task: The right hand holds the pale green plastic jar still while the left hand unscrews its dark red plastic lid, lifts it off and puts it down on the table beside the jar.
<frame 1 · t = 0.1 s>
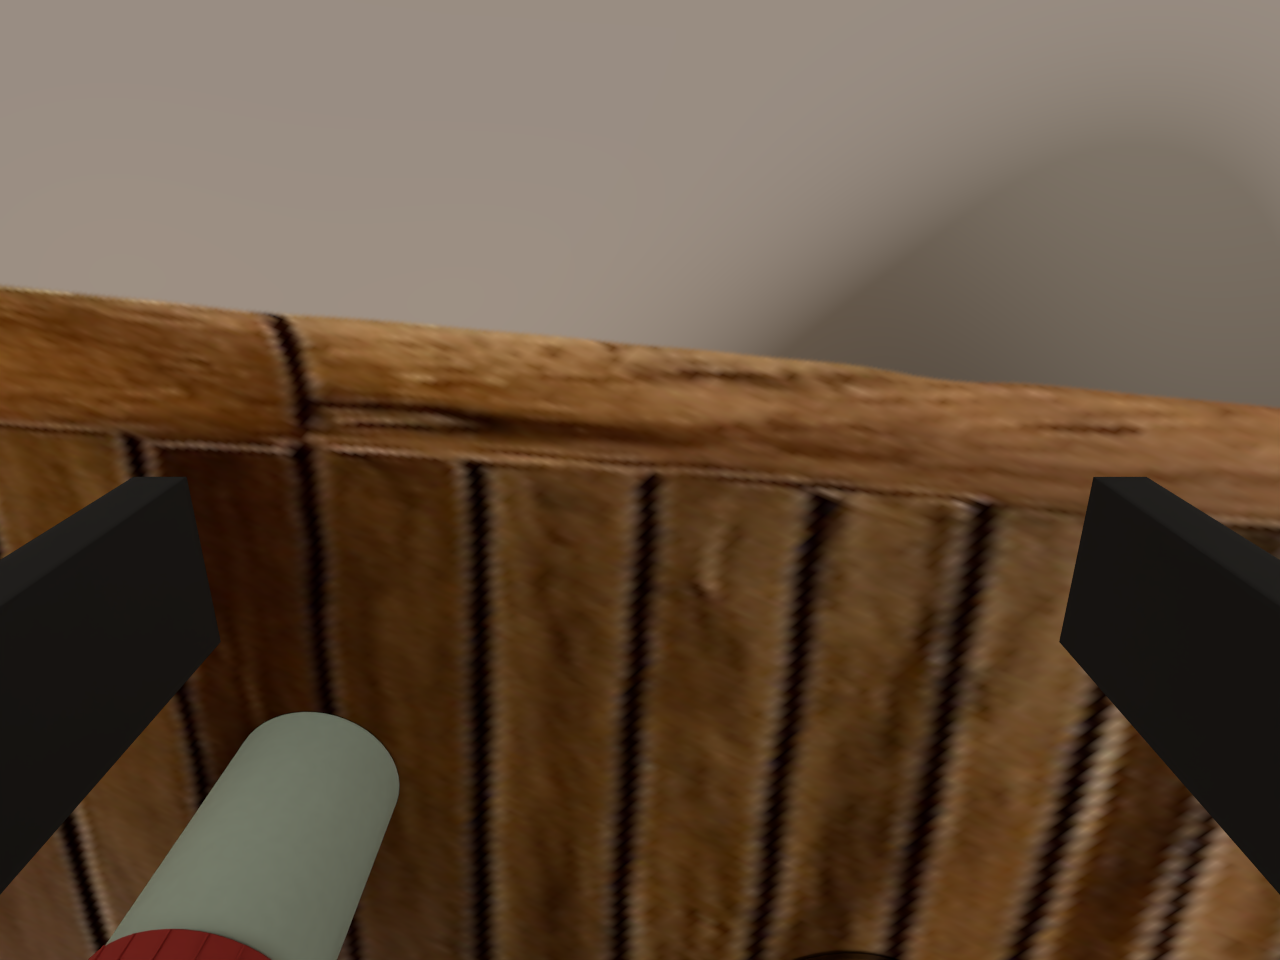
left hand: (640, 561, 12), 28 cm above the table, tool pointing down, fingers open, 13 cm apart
jar: (318, 778, 48), on the table
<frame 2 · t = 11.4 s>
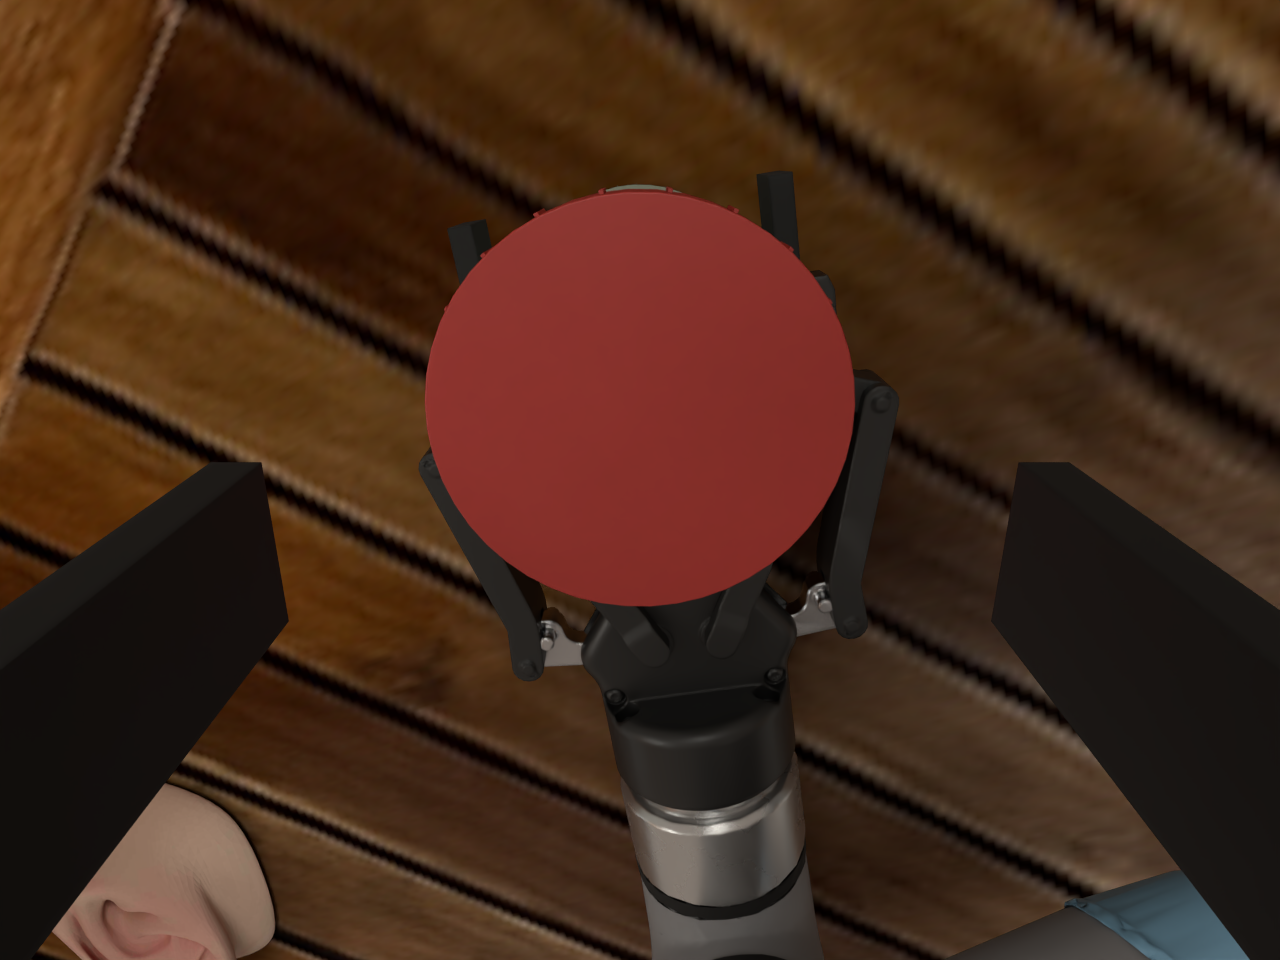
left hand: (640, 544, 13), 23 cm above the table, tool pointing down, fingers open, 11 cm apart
right hand: (618, 198, 27), fingers closed on jar, 9 cm apart
lid: (640, 414, 20), point 16 cm above the table, screwed on, not yet turned
anatomical model: (164, 866, 45), on the table
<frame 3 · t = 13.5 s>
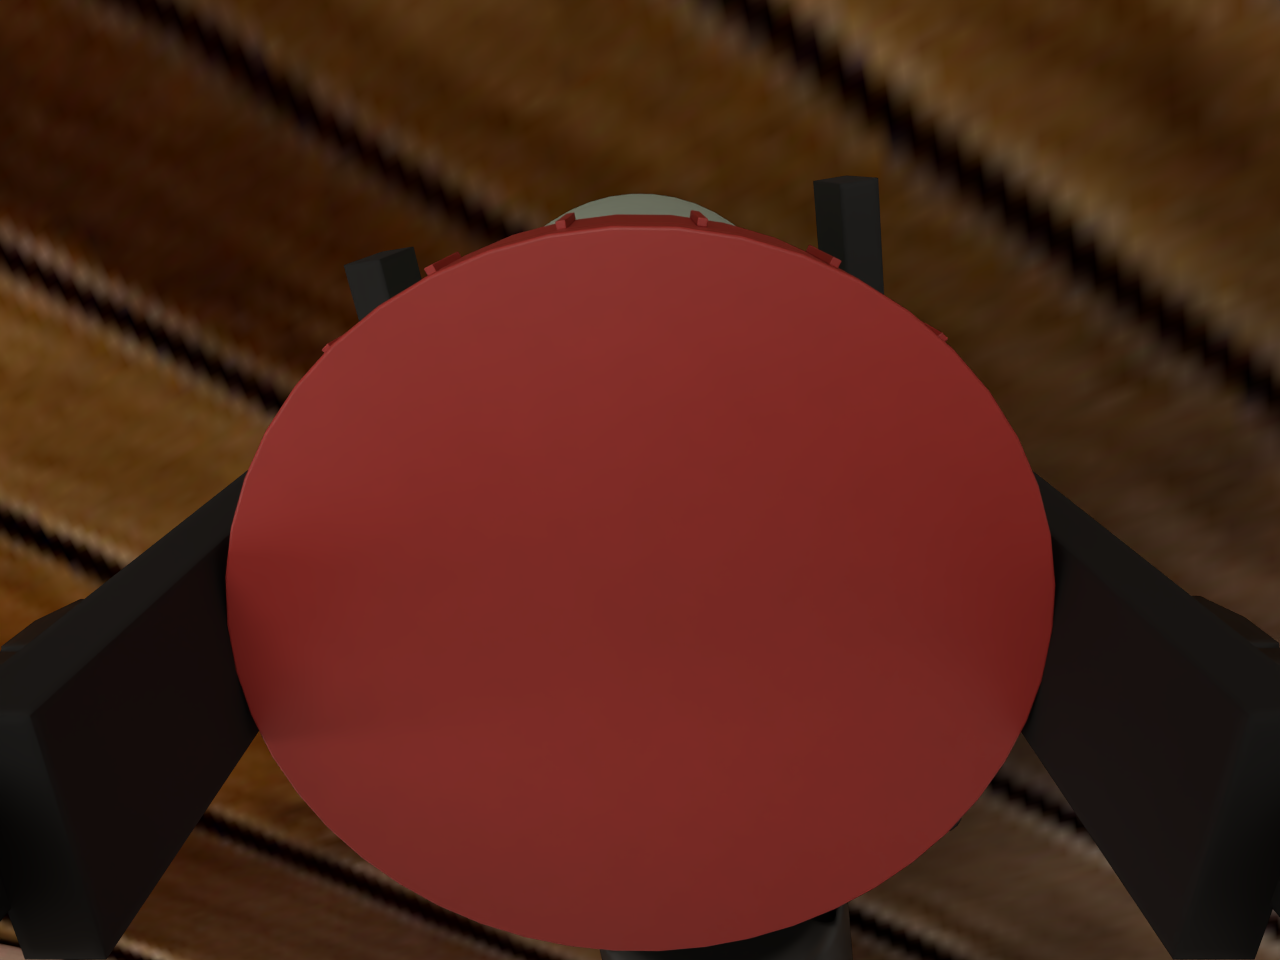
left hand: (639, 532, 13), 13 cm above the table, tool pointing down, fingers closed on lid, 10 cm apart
lid: (640, 637, 10), point 16 cm above the table, screwed on, not yet turned, touching left hand
jar: (640, 356, 25), on the table, touching right hand
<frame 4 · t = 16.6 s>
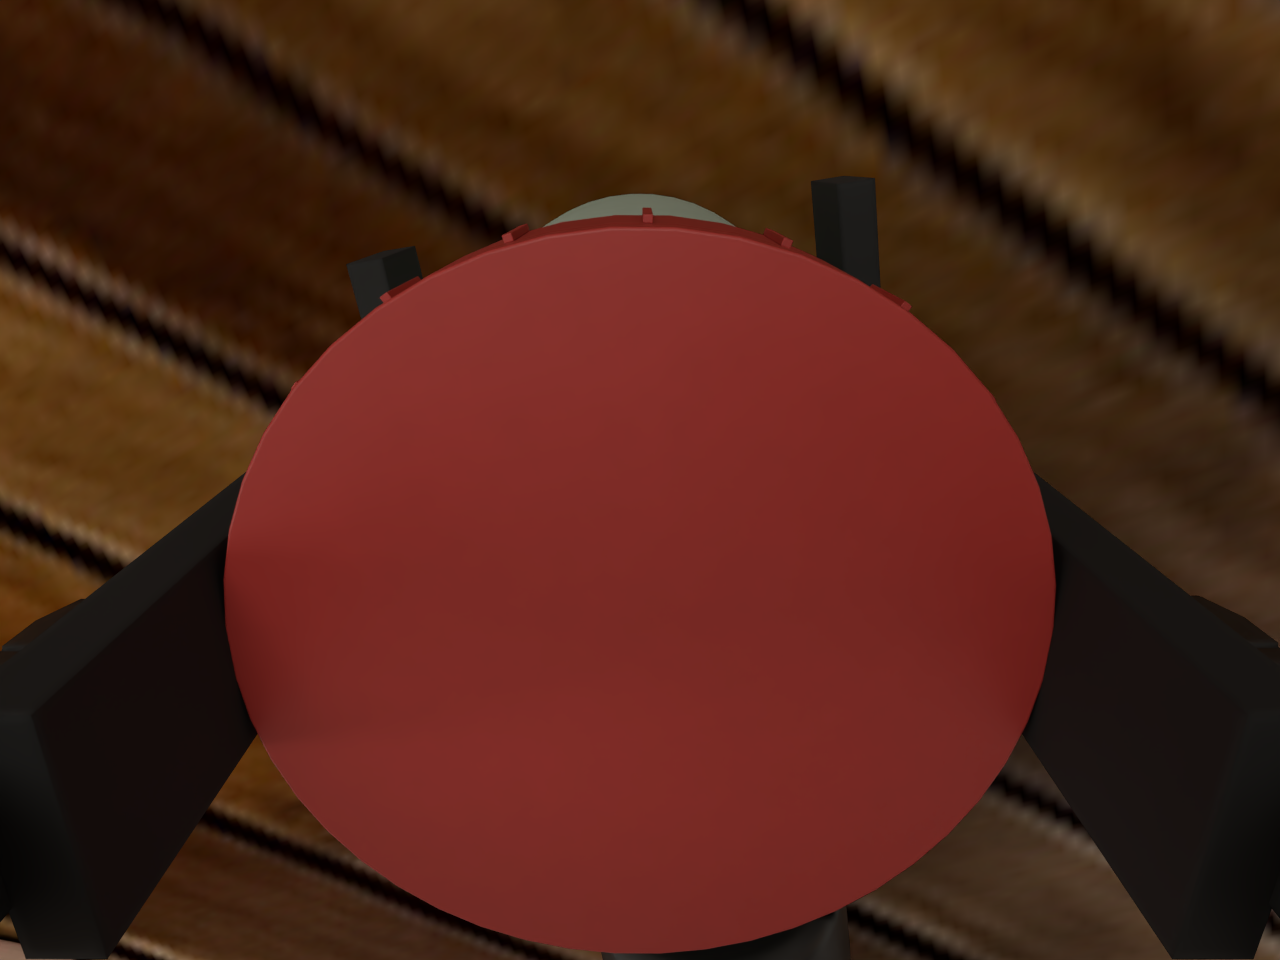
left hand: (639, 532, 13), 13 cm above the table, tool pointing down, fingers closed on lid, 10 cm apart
lid: (639, 639, 10), point 16 cm above the table, turned 75° so far, risen 0.2 cm, still on its thread, touching left hand
jar: (639, 355, 26), on the table, touching right hand
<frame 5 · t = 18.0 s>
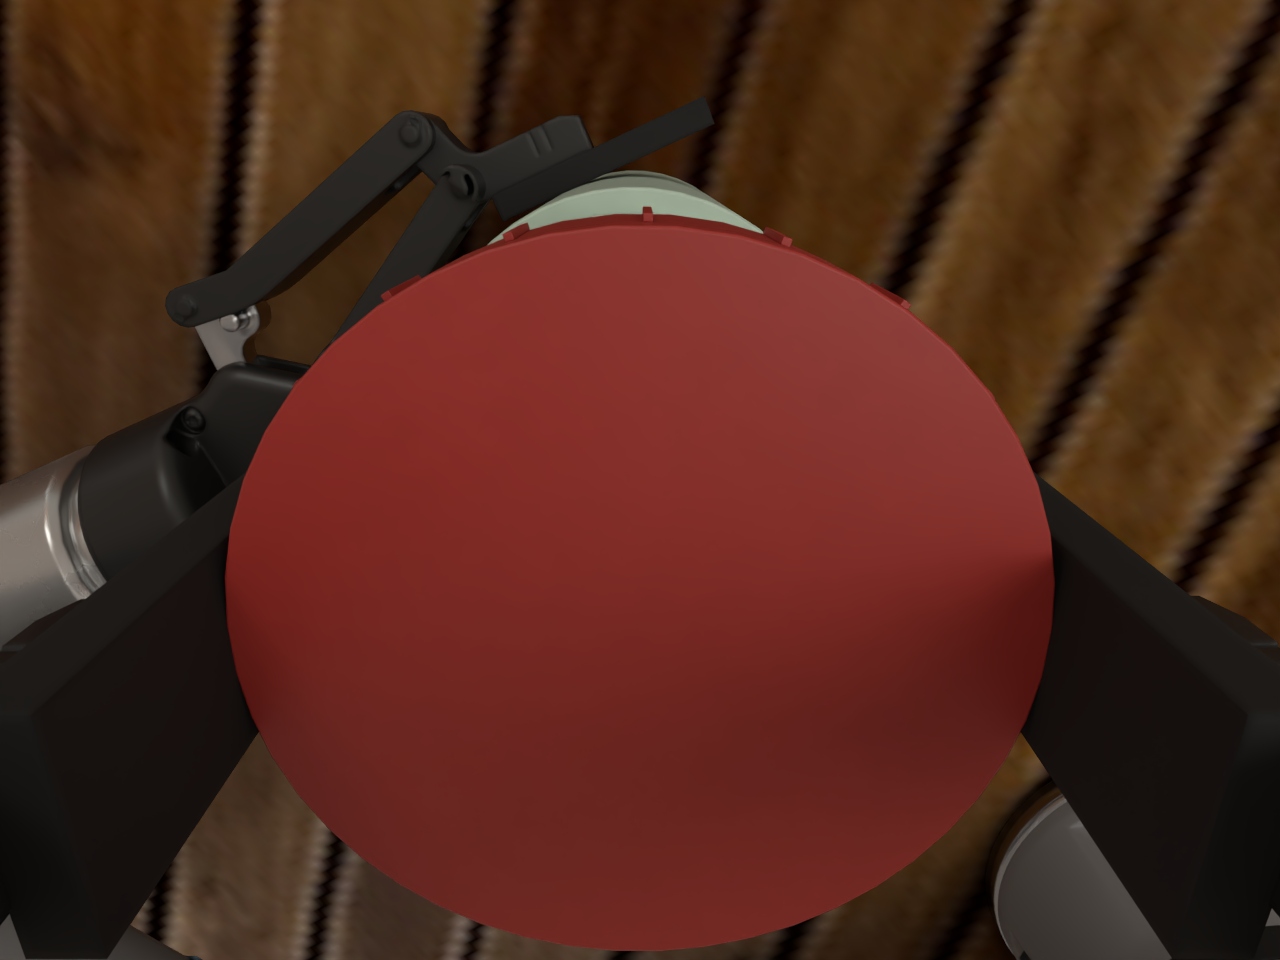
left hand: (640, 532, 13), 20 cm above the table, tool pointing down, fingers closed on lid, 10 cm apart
lid: (639, 636, 10), point 24 cm above the table, off its thread, touching left hand
jar: (634, 299, 32), on the table, touching right hand
when the left hand's fingers open (0 cm above the table, at t = 23.6 s): lid drops 2 cm, point 2 cm above the table.
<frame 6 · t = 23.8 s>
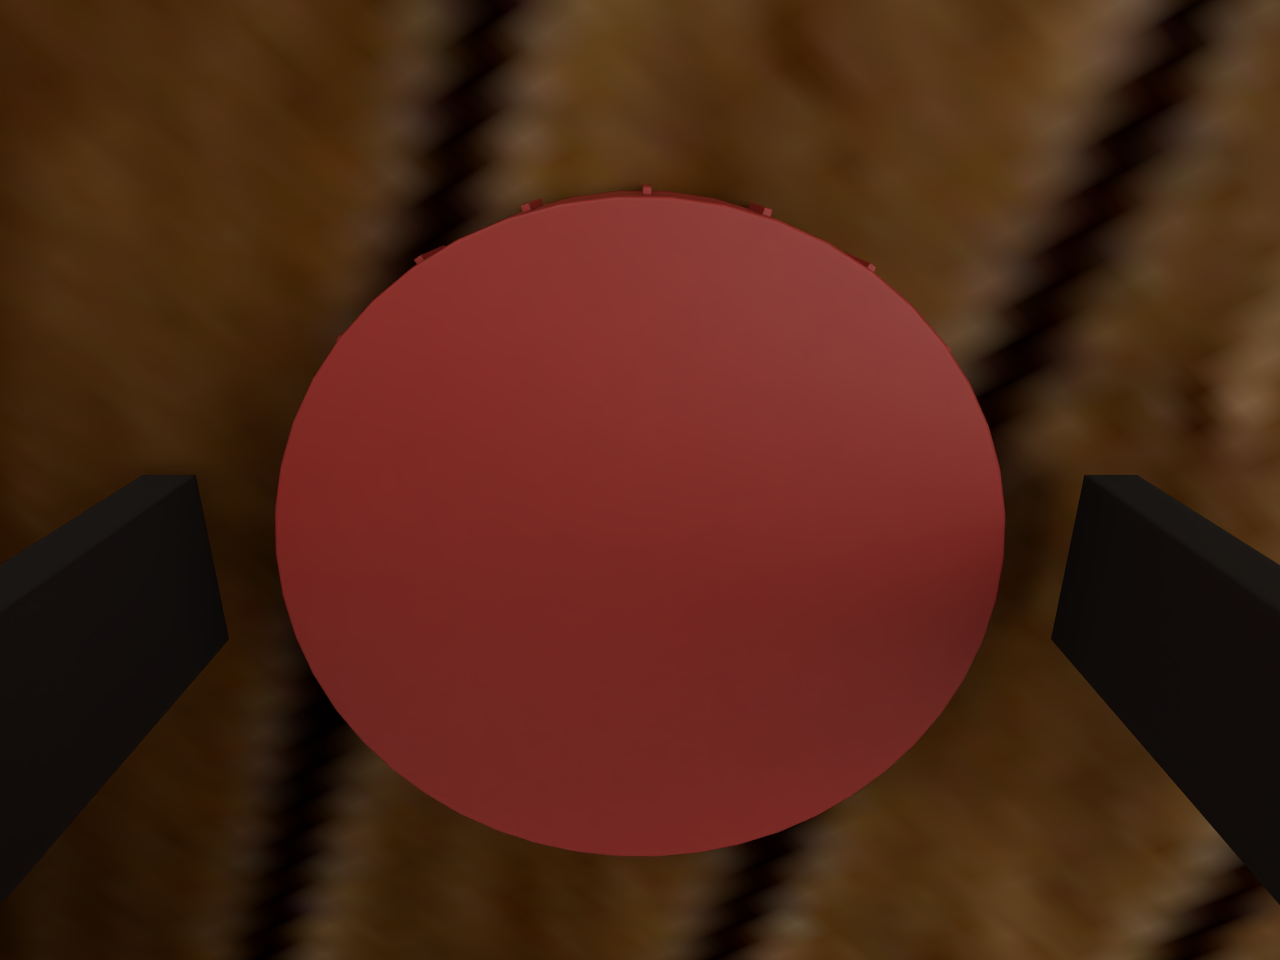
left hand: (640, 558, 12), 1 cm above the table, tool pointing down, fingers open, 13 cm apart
lid: (640, 566, 12), point 2 cm above the table, off its thread
when the right hand's fingers open (6 cm above the table, at t = 24.6 s): jar stays where it is, on the table.
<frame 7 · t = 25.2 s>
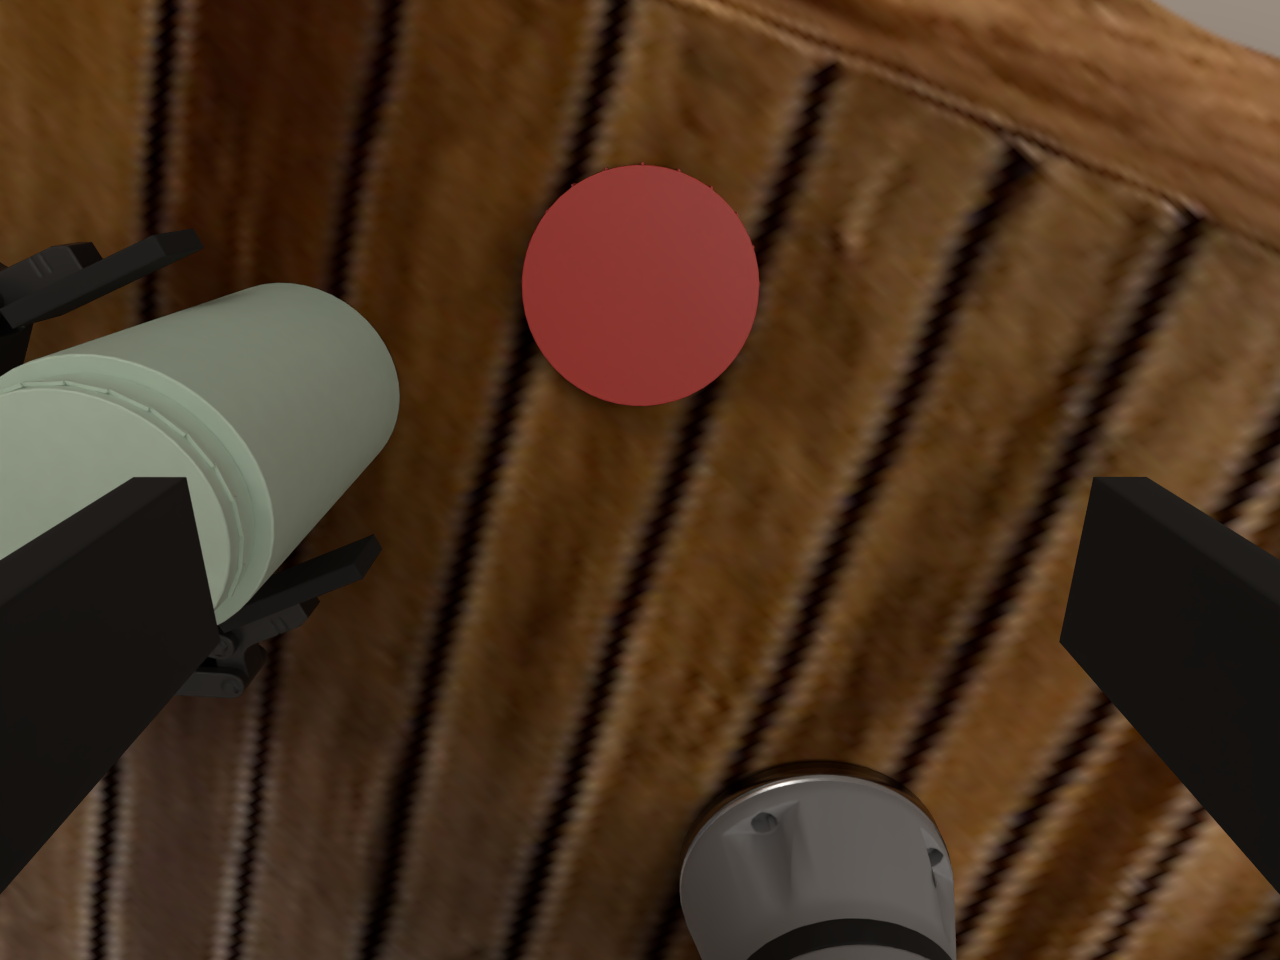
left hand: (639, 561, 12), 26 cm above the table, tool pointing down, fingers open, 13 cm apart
lid: (640, 290, 35), point 2 cm above the table, off its thread
jar: (297, 386, 38), on the table
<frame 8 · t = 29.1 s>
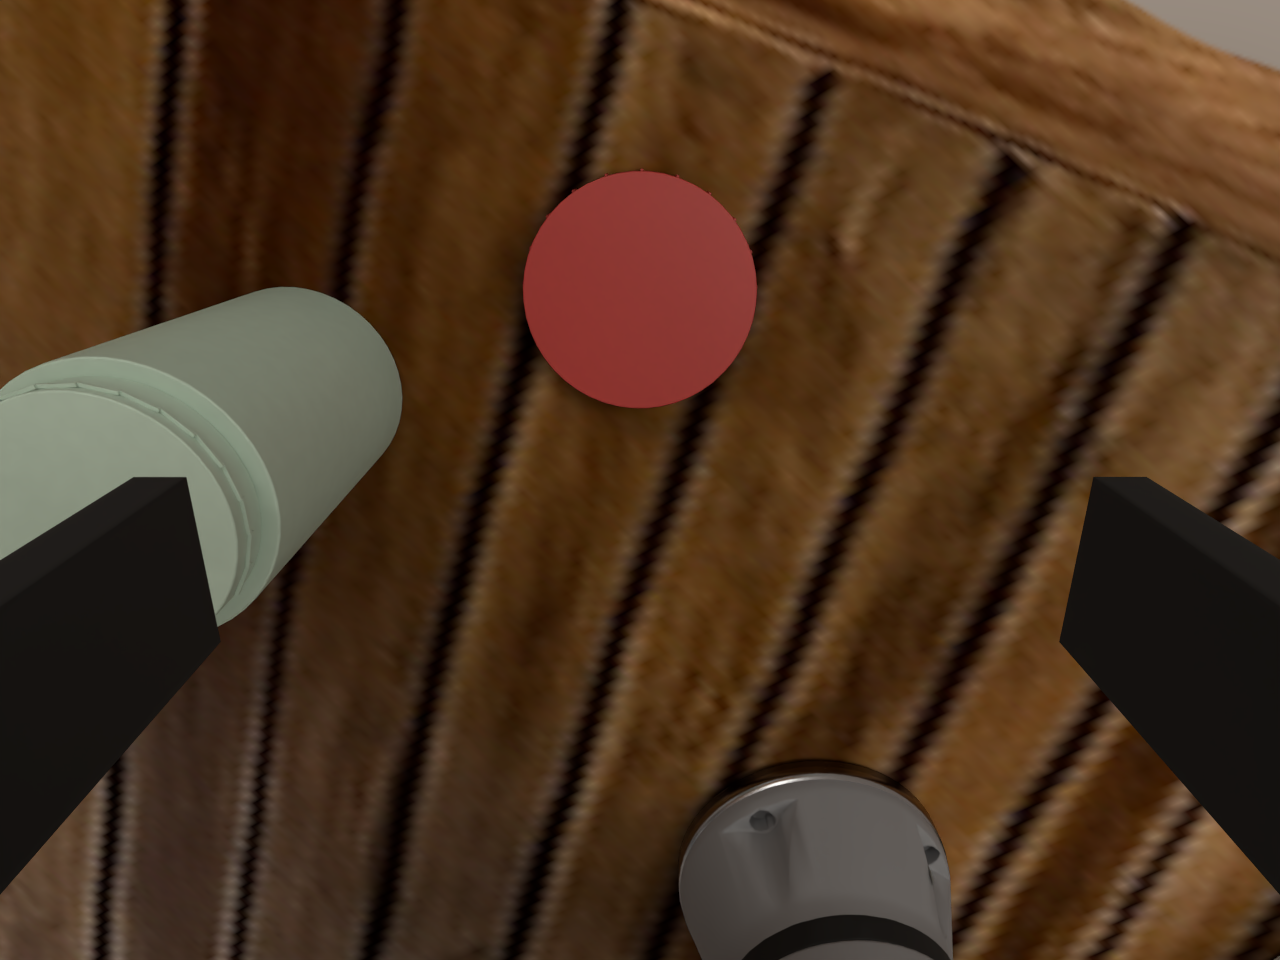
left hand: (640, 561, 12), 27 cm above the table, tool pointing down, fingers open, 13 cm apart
lid: (639, 294, 36), point 2 cm above the table, off its thread
jar: (301, 389, 39), on the table
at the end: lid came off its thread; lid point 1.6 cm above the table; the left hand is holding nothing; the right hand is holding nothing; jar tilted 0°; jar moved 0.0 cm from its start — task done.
